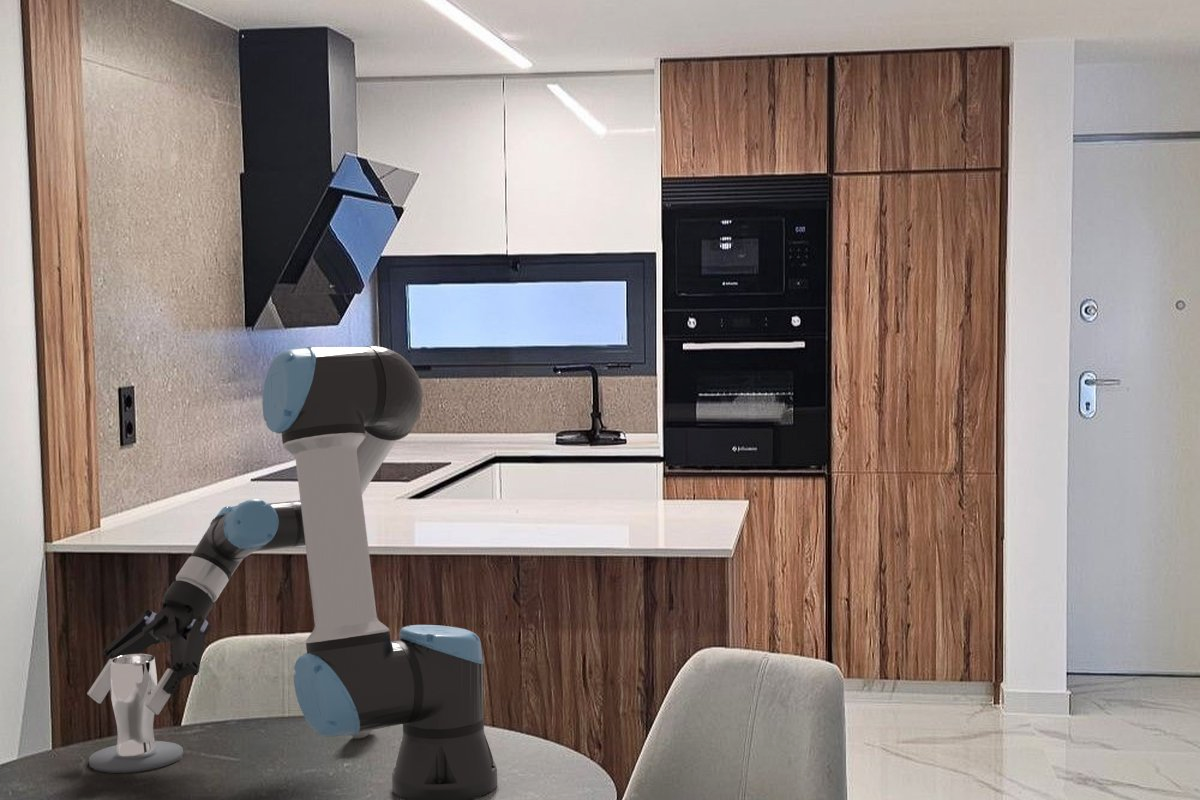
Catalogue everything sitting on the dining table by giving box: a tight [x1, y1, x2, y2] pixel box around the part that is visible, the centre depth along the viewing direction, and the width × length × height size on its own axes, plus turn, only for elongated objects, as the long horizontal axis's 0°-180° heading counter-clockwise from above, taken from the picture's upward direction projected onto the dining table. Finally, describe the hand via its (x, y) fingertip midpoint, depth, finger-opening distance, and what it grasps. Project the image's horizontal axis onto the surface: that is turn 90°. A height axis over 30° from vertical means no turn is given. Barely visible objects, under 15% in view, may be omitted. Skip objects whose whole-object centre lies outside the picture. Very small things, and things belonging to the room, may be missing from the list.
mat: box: [88, 740, 184, 774], centre depth 228 cm, size 14×14×1 cm
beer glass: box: [109, 653, 158, 759], centre depth 228 cm, size 7×7×15 cm
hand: (121, 704), depth 226 cm, fingers open, 13 cm apart
